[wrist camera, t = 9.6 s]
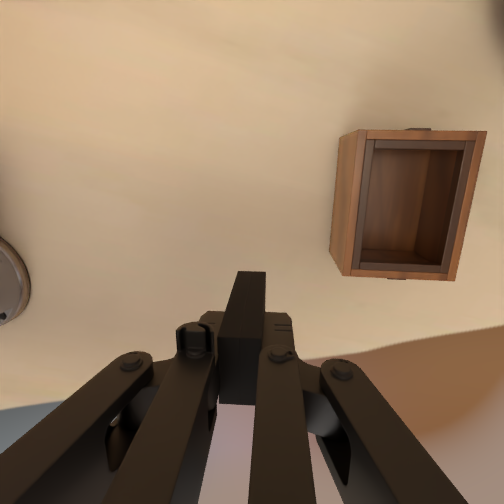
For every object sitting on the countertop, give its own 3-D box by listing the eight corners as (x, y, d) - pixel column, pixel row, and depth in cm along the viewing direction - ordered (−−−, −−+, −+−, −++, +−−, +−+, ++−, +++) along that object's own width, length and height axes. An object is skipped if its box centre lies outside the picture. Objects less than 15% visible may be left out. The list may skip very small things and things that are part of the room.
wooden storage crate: (342, 278, 32) (454, 283, 31) (358, 127, 28) (488, 128, 27) (328, 253, 40) (416, 257, 39) (339, 135, 36) (437, 137, 35)
